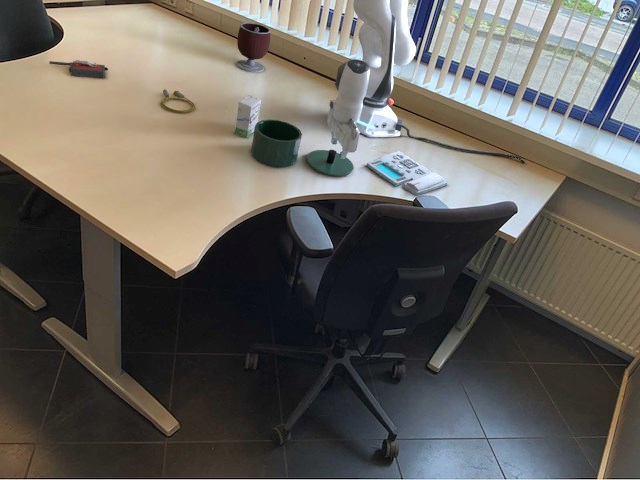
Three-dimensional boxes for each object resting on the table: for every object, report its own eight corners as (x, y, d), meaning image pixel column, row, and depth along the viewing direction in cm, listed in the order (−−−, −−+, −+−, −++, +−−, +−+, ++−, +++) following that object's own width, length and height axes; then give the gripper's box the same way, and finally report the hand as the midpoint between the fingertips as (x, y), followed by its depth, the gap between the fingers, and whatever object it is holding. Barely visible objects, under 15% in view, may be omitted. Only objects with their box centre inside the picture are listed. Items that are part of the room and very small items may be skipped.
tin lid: (344, 154, 195) (348, 141, 192) (358, 178, 183) (362, 165, 180) (301, 151, 190) (304, 138, 187) (312, 176, 178) (316, 162, 175)
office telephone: (449, 179, 192) (416, 192, 179) (447, 185, 193) (413, 198, 180) (400, 147, 203) (365, 157, 190) (398, 153, 205) (363, 164, 192)
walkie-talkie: (108, 69, 209) (49, 64, 201) (107, 58, 206) (48, 53, 199) (108, 79, 202) (48, 74, 195) (108, 67, 200) (47, 62, 192)
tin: (290, 146, 191) (295, 121, 186) (300, 168, 180) (306, 143, 174) (247, 143, 186) (251, 117, 181) (255, 166, 175) (259, 140, 169)
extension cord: (196, 97, 206) (197, 92, 205) (193, 115, 194) (193, 110, 192) (163, 92, 204) (163, 87, 202) (157, 110, 191) (157, 105, 190)
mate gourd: (233, 58, 247) (239, 13, 235) (264, 63, 250) (271, 18, 239) (235, 71, 235) (241, 24, 223) (267, 76, 238) (274, 30, 227)
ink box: (246, 138, 189) (251, 106, 182) (233, 133, 190) (238, 102, 183) (256, 129, 196) (261, 99, 189) (244, 125, 196) (248, 94, 189)
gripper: (367, 128, 169) (356, 167, 177) (346, 99, 183) (337, 136, 192) (348, 127, 166) (338, 166, 175) (328, 98, 181) (320, 135, 190)
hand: (337, 150), depth 183 cm, fingers open, 8 cm apart
